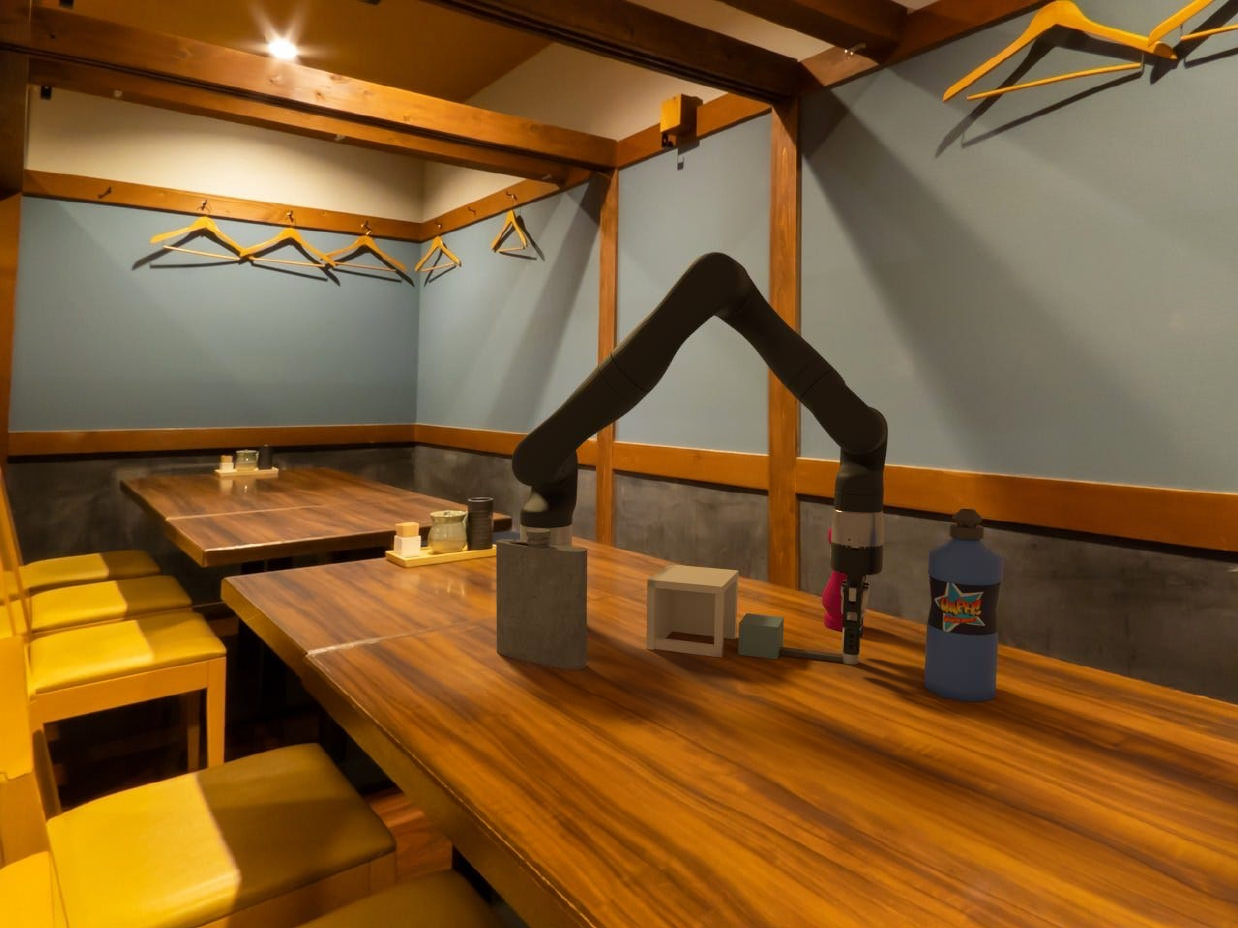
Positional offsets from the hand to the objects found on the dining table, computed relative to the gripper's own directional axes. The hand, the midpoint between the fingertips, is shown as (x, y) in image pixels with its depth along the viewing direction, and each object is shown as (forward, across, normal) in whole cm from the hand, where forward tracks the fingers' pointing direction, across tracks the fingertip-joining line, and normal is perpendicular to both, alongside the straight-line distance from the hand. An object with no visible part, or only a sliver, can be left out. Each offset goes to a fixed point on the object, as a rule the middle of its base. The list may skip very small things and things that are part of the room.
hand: (853, 645), depth 116 cm
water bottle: (+3, +6, +14) cm, 16 cm away
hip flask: (+3, +17, -45) cm, 48 cm away
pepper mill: (+3, -19, -3) cm, 19 cm away
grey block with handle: (+3, 0, -8) cm, 8 cm away
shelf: (+3, 0, -25) cm, 25 cm away
